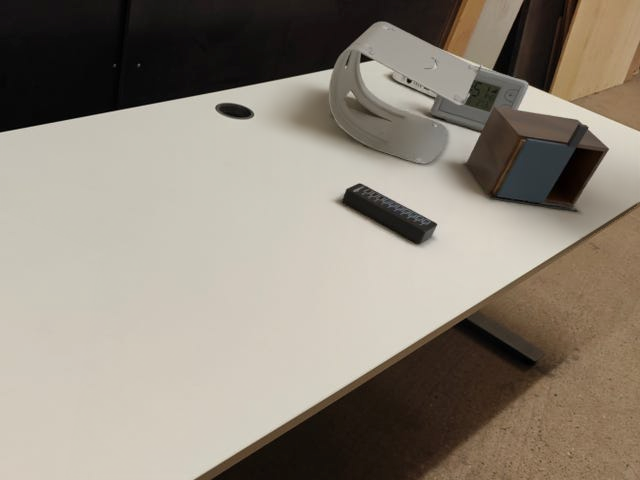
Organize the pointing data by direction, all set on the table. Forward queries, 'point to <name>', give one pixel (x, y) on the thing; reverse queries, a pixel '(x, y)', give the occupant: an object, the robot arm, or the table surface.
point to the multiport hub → (389, 213)
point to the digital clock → (482, 99)
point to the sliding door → (539, 167)
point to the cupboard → (509, 137)
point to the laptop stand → (396, 126)
